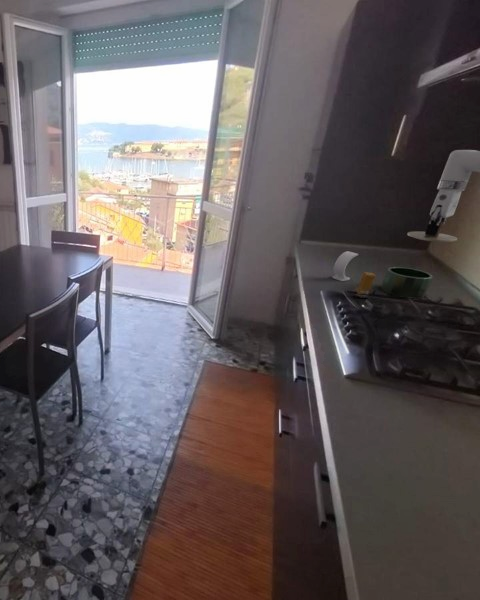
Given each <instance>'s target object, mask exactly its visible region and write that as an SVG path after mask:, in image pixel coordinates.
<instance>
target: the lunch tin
mask: <svg viewBox="0 0 480 600" xmlns="http://www.w3.org/2000/svg"><path fill="white" fill-rule="evenodd" d="M433 277H434V276H433V275H432V274H431V273H429V272H426V271H425V270H420V269H416V268H410V267H402V266H391V267H388V268H387V269H386V273H385V275H384V278H383V281H382V283H381V287H380V289H381V291H383V292H384V293H386V294H389V295H391V296H395V297H398V298H399V297H400V298H405V299H412V300H415V299H423V298H424V297H425V296H426V294H427V292H428V289H429V287H430V285H431V283H432V280H433Z"/></svg>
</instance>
